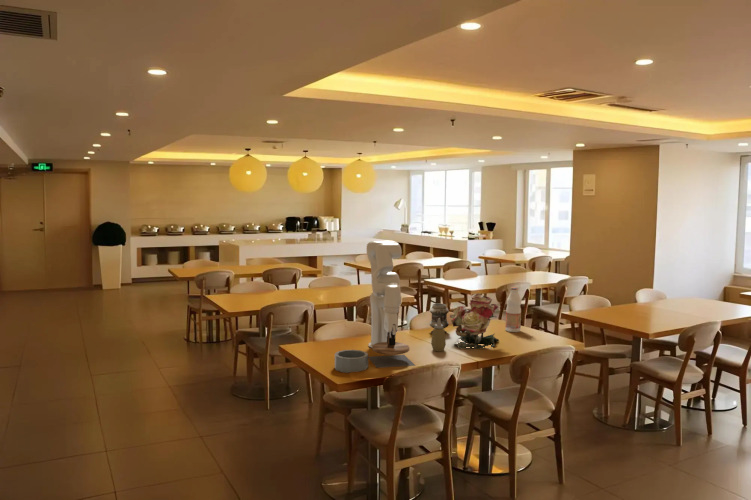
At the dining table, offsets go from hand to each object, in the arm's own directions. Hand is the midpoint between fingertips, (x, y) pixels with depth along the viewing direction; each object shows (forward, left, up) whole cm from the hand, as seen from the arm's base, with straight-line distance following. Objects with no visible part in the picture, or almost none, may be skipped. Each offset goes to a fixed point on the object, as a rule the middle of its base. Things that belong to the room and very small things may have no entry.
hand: (391, 343), depth 293 cm
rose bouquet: (-24, +57, -10) cm, 63 cm away
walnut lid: (0, 0, -3) cm, 3 cm away
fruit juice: (-52, +96, -10) cm, 110 cm away
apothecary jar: (-56, +47, -10) cm, 74 cm away
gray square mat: (+1, 0, -9) cm, 9 cm away
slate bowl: (+7, -22, -9) cm, 25 cm away
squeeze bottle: (-16, +32, -10) cm, 37 cm away
